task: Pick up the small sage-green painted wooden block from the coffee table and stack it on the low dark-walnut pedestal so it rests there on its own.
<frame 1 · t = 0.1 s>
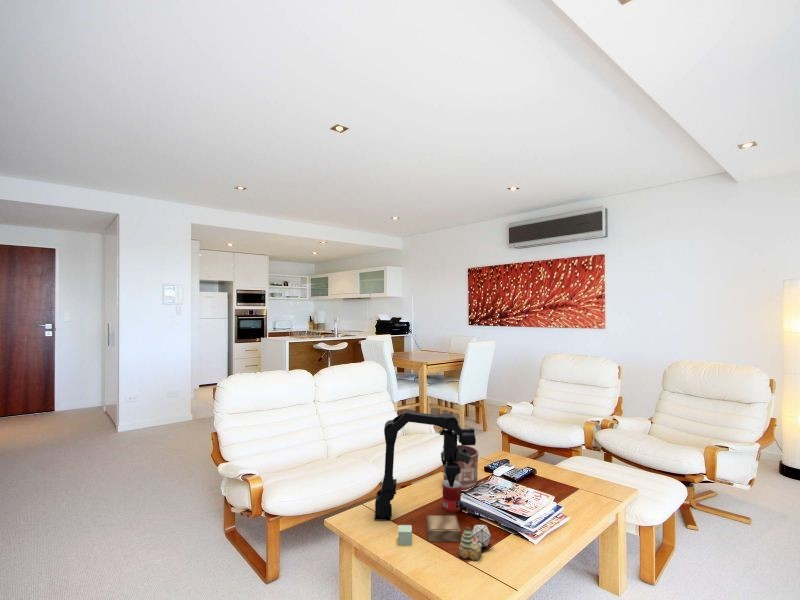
hand: (450, 482, 182), 15 cm above the table, fingers open, 9 cm apart
sage block: (404, 541, 163), on the table
game die: (480, 546, 160), on the table
pottery: (460, 487, 212), on the table
pedestal: (443, 533, 169), on the table
ornament: (470, 556, 154), on the table
canned food: (451, 508, 190), on the table
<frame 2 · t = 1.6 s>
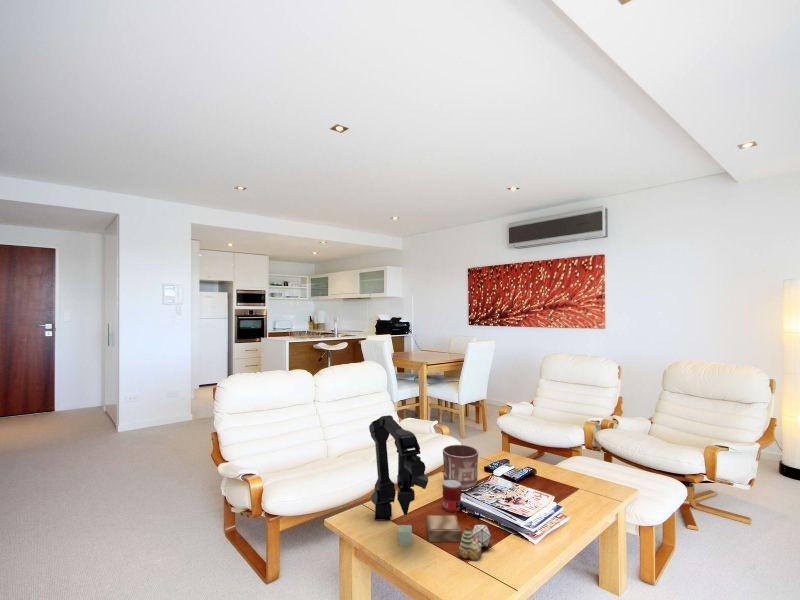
hand: (405, 508, 163), 12 cm above the table, fingers open, 9 cm apart
nothing on the table moved.
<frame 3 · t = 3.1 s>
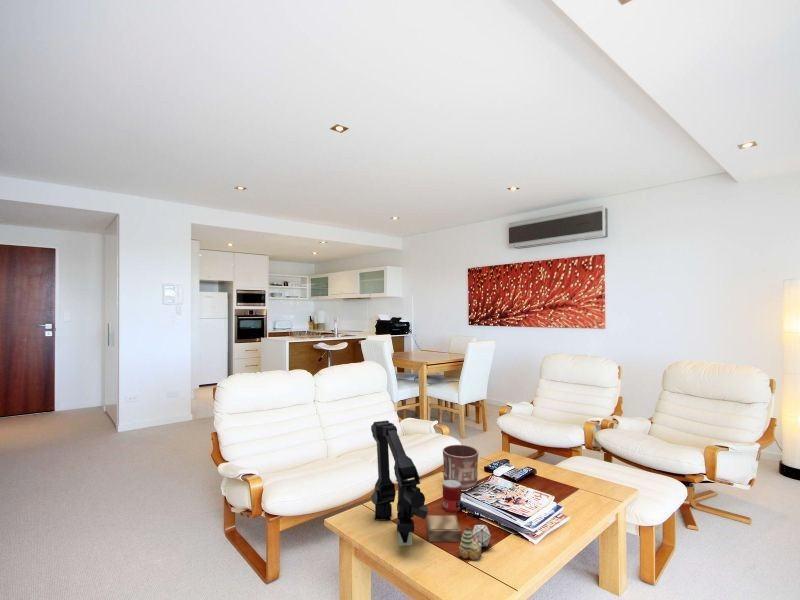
hand: (405, 538, 163), 1 cm above the table, fingers closed on sage block, 5 cm apart
sage block: (404, 541, 163), on the table, touching gripper
everything else where it was.
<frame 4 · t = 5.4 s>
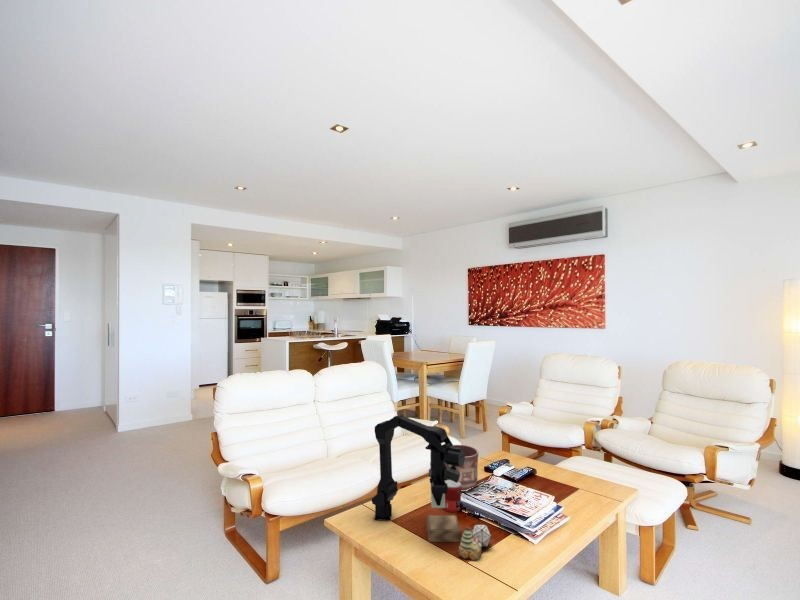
hand: (438, 502, 168), 13 cm above the table, fingers closed on sage block, 5 cm apart
sage block: (437, 505, 168), point 12 cm above the table, touching gripper
everything else where it was.
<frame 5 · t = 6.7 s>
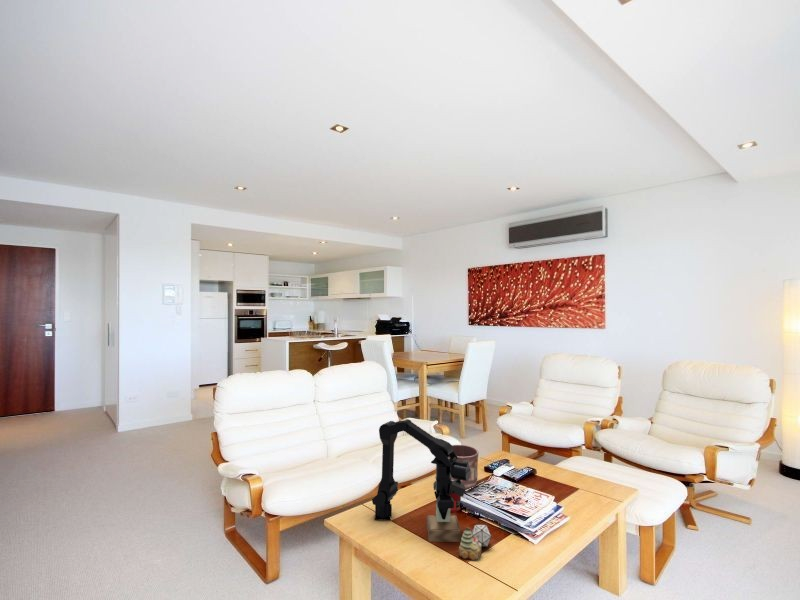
hand: (443, 515, 169), 7 cm above the table, fingers closed on sage block, 5 cm apart
sage block: (443, 518, 169), point 6 cm above the table, touching gripper
everything else where it was.
when the fingers open (6 cm above the table, at t = 7.5 s): sage block drops 1 cm, resting on pedestal.
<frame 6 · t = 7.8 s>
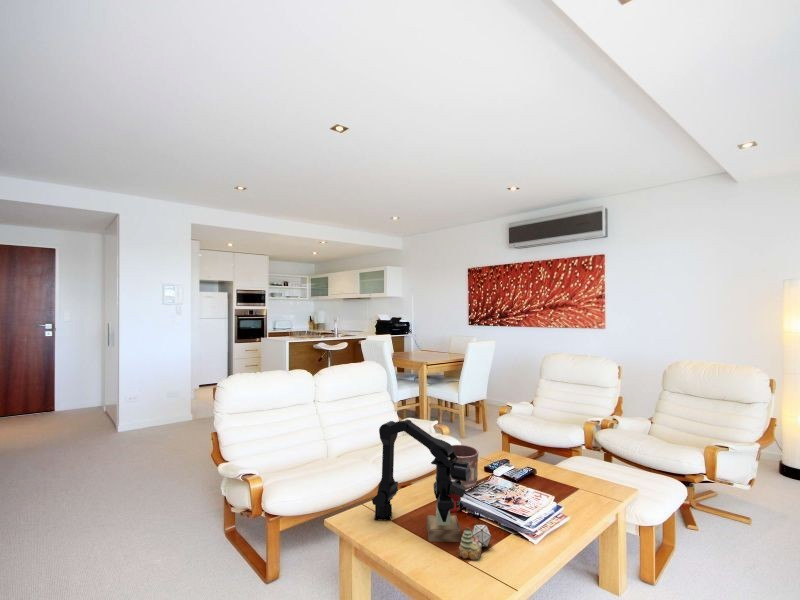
hand: (443, 516, 169), 6 cm above the table, fingers open, 8 cm apart
sage block: (443, 522, 169), point 4 cm above the table, touching pedestal
everything else where it was.
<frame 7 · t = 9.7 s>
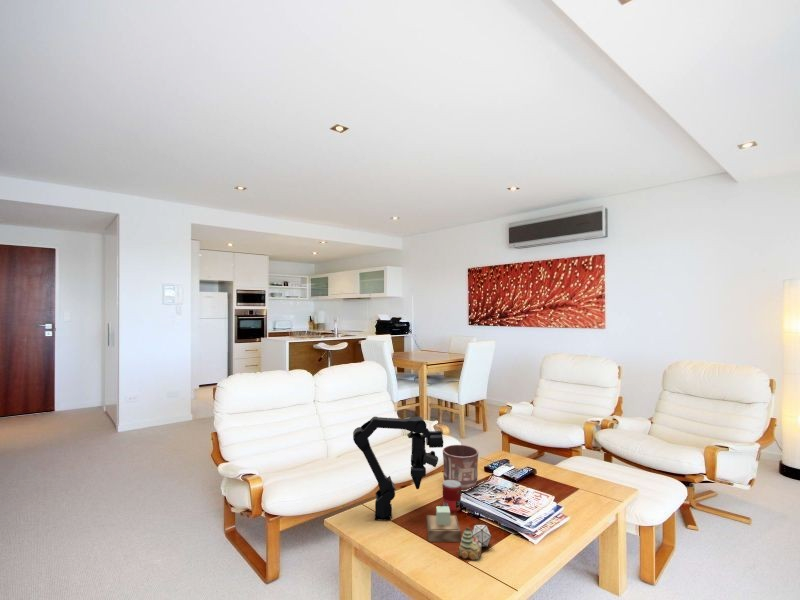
hand: (417, 484, 184), 13 cm above the table, fingers open, 9 cm apart
nothing on the table moved.
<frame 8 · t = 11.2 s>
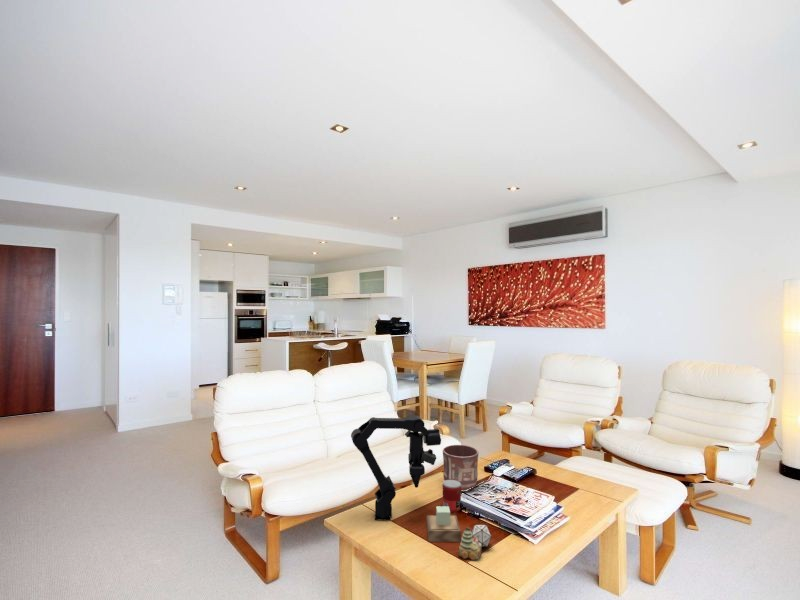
hand: (416, 482, 185), 13 cm above the table, fingers open, 9 cm apart
nothing on the table moved.
at the end: sage block inside the target area on the pedestal (0.0 cm from its centre), point 4.3 cm above the pedestal's base; sage block touching pedestal; sage block tilted 0° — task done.
